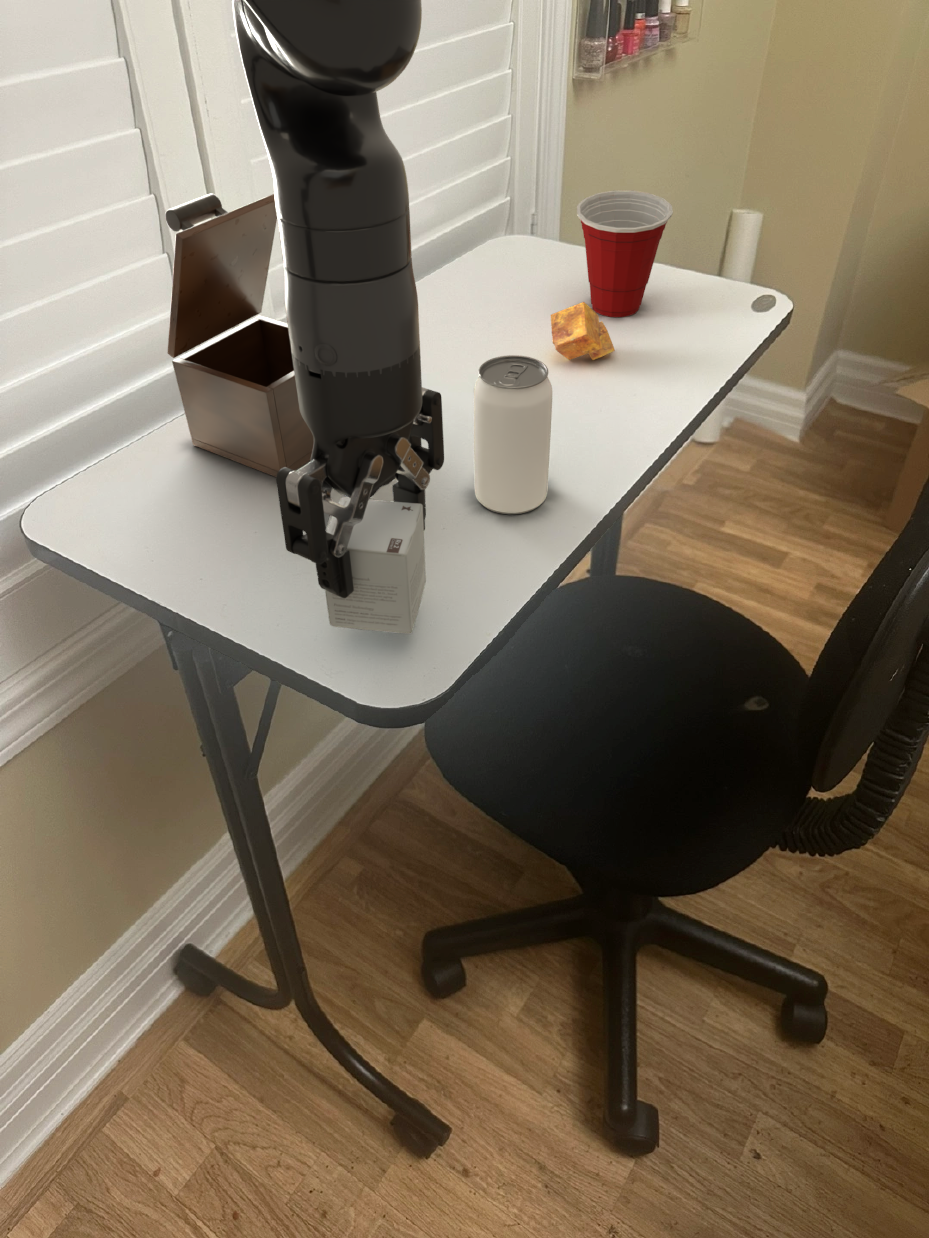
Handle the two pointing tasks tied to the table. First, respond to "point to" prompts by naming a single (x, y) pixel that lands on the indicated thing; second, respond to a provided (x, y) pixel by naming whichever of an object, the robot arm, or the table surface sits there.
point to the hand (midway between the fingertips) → (375, 560)
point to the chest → (246, 397)
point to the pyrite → (580, 333)
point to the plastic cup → (621, 246)
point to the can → (512, 433)
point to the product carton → (383, 569)
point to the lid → (217, 267)
